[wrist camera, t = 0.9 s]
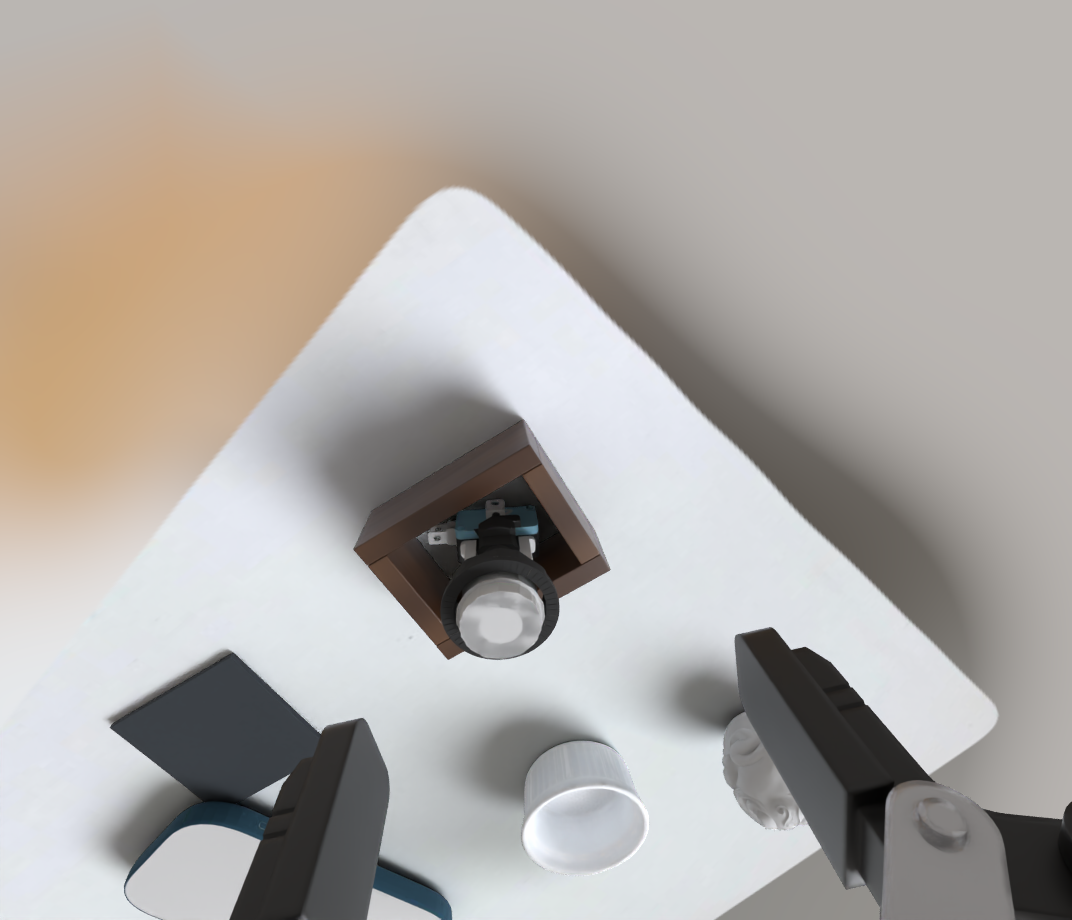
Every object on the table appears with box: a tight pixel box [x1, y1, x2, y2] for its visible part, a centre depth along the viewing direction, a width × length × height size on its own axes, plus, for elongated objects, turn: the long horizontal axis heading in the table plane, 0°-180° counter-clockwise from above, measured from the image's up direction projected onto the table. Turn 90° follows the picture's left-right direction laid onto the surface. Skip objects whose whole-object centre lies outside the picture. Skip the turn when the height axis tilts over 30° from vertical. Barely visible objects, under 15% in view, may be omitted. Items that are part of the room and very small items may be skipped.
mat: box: [110, 653, 321, 804], centre depth 36 cm, size 10×10×1 cm
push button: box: [428, 499, 559, 660], centre depth 27 cm, size 7×5×10 cm
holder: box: [354, 420, 610, 660], centre depth 30 cm, size 9×11×4 cm
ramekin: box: [521, 741, 649, 876], centre depth 38 cm, size 9×9×4 cm
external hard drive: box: [124, 801, 452, 920], centre depth 41 cm, size 24×12×2 cm, turn 47°
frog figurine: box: [722, 712, 808, 830], centre depth 37 cm, size 6×7×7 cm
